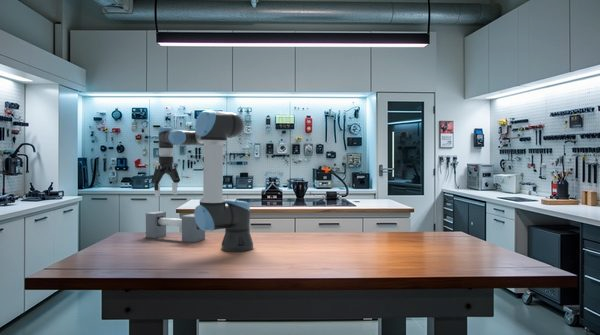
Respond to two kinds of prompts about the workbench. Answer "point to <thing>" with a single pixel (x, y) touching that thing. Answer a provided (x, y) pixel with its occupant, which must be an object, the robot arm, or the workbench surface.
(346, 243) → the workbench surface
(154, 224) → the socket block
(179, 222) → the tube
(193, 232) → the sleeve
